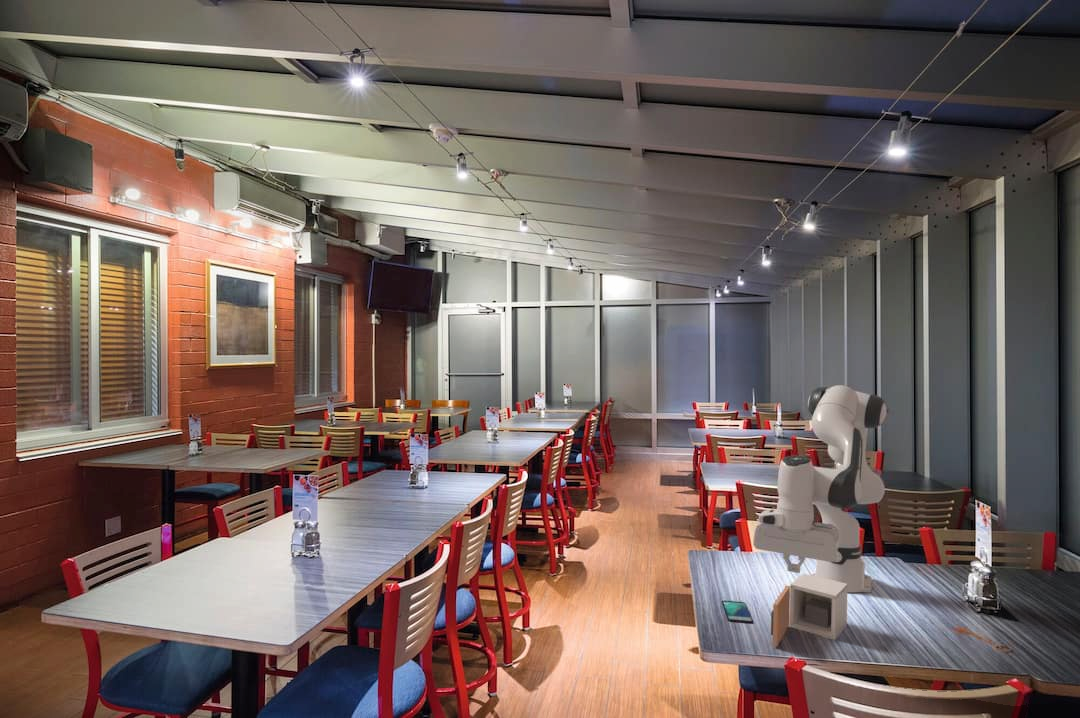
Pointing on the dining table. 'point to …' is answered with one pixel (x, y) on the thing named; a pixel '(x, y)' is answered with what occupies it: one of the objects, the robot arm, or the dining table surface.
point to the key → (965, 631)
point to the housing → (818, 605)
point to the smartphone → (737, 612)
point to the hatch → (780, 615)
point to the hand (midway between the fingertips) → (793, 571)
